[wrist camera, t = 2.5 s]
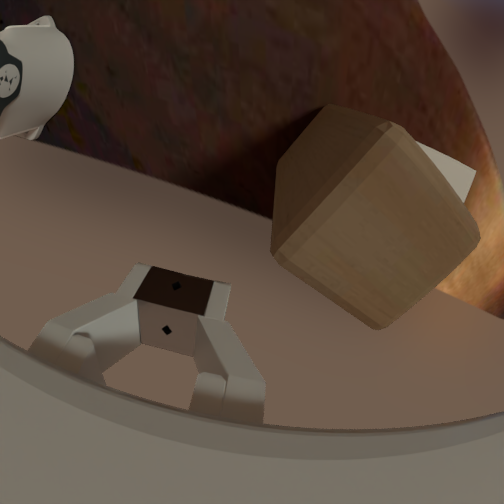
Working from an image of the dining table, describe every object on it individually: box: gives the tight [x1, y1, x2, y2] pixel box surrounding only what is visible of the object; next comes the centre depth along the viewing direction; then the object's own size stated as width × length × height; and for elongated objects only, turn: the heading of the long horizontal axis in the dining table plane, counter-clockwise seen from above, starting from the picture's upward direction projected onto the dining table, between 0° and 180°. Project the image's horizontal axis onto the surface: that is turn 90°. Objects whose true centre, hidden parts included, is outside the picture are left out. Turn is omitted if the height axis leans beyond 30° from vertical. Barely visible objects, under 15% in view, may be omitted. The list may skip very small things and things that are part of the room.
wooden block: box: [270, 104, 481, 330], centre depth 23 cm, size 10×10×20 cm
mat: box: [416, 142, 476, 203], centre depth 32 cm, size 15×12×1 cm
